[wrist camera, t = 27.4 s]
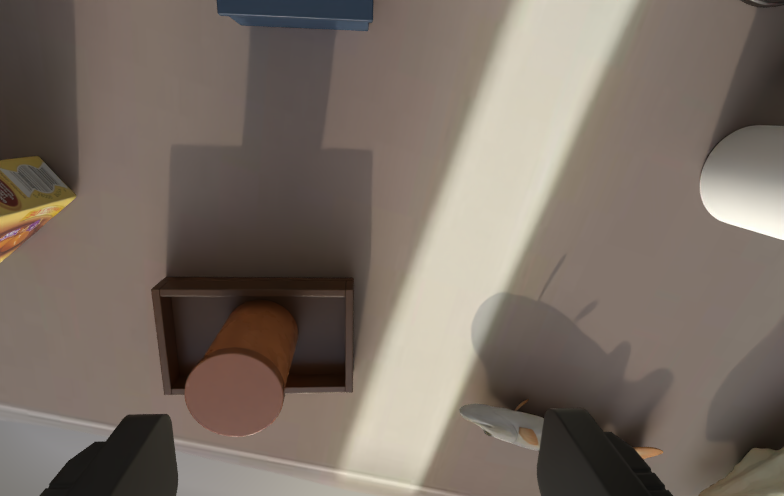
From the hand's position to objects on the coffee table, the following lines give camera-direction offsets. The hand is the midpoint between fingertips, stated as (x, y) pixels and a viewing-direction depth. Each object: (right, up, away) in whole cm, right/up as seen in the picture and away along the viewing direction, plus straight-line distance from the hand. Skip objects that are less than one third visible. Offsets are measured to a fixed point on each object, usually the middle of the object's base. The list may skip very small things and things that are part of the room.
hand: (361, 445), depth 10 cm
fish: (+17, -12, +31) cm, 38 cm away
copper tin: (-10, -3, +29) cm, 31 cm away
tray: (-10, -3, +29) cm, 31 cm away
